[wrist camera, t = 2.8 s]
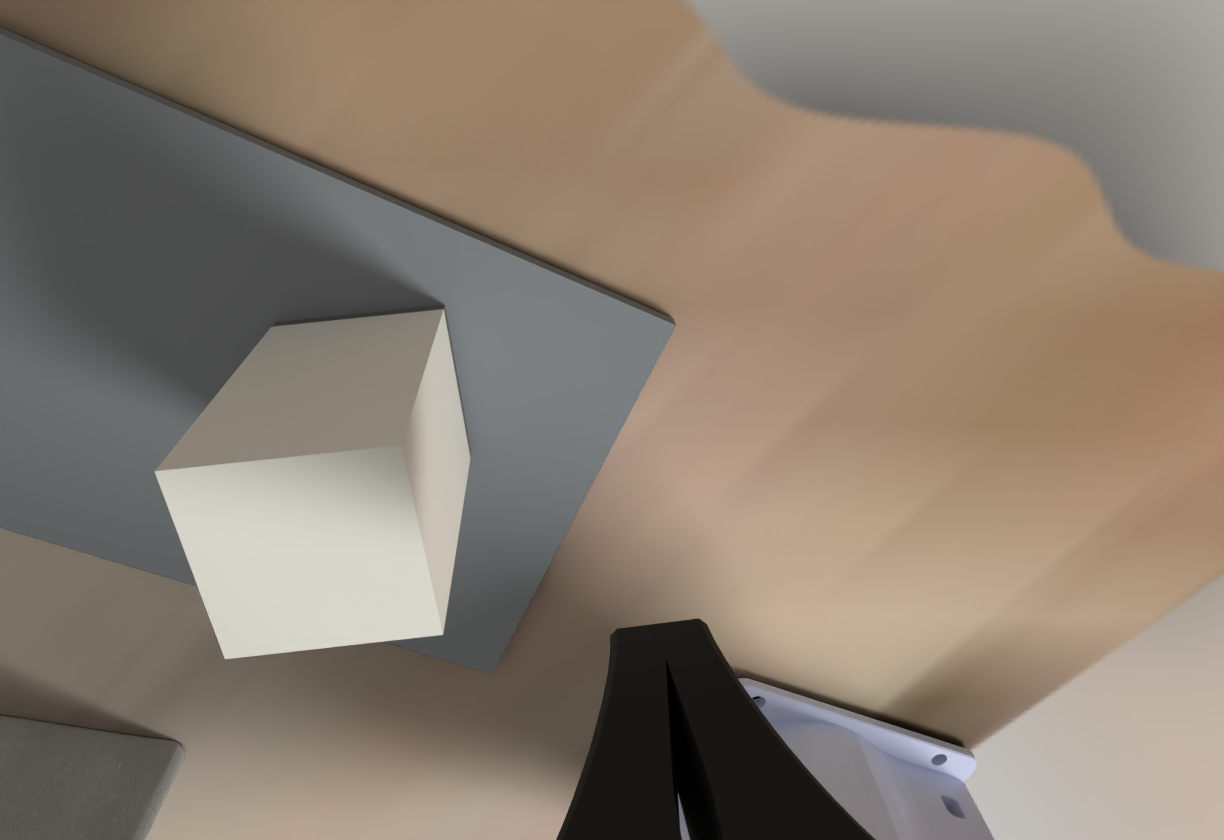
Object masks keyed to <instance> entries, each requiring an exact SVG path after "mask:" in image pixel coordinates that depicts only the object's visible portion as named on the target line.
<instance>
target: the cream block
mask: <svg viewBox="0 0 1224 840" xmlns="http://www.w3.org/2000/svg"><path fill="white" fill-rule="evenodd" d="M470 458H471V447H470V442H469V436H468V430H467V425H466V419H465V414H464V408H463V403H462V397H461V391H460V386H459V380H458V375H457V369H456V363H455V358H454V352H453V347H452V341H451V335H450V330H449V324H448V319H447V313H446V308H445V305H440V306H430V307H420V308H411V309H401V310H391V311H381V312H371V313H361V314H352V315H342V316H332V317H322V318H312V319H302V320H292V321H283V322H275V323H274V324H273V325H272V327H271V328H270V329H269V330H268V332H267V333H266V334H265V335H264V337H263V338H262V339H261V340H260V341H259V343H258V344H257V345H256V346H255V348H254V349H253V350H252V351H251V353H250V354H249V355H248V356H247V358H246V359H245V360H244V361H243V362H242V364H241V365H240V366H239V367H238V369H237V370H236V371H235V372H234V374H233V375H232V376H231V377H230V379H229V380H228V381H227V382H226V384H225V385H224V386H223V387H222V388H221V390H220V391H219V392H218V393H217V395H216V396H215V397H214V398H213V400H212V401H211V402H210V403H209V405H208V406H207V407H206V408H205V409H204V411H203V412H202V413H201V414H200V416H199V417H198V418H197V419H196V421H195V422H194V423H193V424H192V426H191V427H190V428H189V429H188V431H187V432H186V433H185V434H184V435H183V437H182V438H181V439H180V440H179V442H178V443H177V444H176V445H175V447H174V448H173V449H172V450H171V452H170V453H169V454H168V455H167V456H166V458H165V459H164V460H163V461H162V463H161V464H160V465H159V466H158V468H157V469H156V470H155V471H154V472H155V474H156V477H157V479H158V482H159V485H160V487H161V490H162V493H163V495H164V498H165V501H166V503H167V506H168V509H169V511H170V514H171V517H172V519H173V522H174V525H175V527H176V530H177V533H178V535H179V538H180V541H181V543H182V546H183V549H184V551H185V554H186V557H187V559H188V562H189V565H190V567H191V570H192V573H193V575H194V578H195V581H196V583H197V586H198V589H199V591H200V594H201V597H202V599H203V602H204V605H205V607H206V610H207V613H208V615H209V618H210V621H211V623H212V626H213V629H214V631H215V634H216V637H217V639H218V642H219V645H220V647H221V650H222V653H223V655H224V658H225V659H232V658H241V657H250V656H259V655H267V654H276V653H285V652H294V651H303V650H312V649H321V648H330V647H339V646H348V645H357V644H366V643H375V642H383V641H392V640H401V639H410V638H419V637H428V636H437V635H443V632H444V626H445V619H446V613H447V606H448V600H449V594H450V587H451V581H452V574H453V568H454V561H455V555H456V549H457V542H458V536H459V529H460V523H461V516H462V510H463V503H464V497H465V491H466V484H467V478H468V471H469V465H470Z"/></svg>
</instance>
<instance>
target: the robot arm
mask: <svg viewBox="0 0 1224 840" xmlns="http://www.w3.org/2000/svg"><path fill="white" fill-rule="evenodd" d="M610 645H611V648H610V660H609V669H608V675H607V681H606V686H605V691H604V696H603V701H602V705H601V709H600V713H599V716H598V720H597V724H596V728H595V732H594V736H593V740H592V743H591V746H590V750H589V753H588V756H587V759H586V762H585V765H584V768H583V771H582V773H581V776H580V779H579V782H578V785H577V788H576V791H575V794H574V797H573V800H572V802H571V805H570V807H569V810H568V813H567V815H566V818H565V820H564V823H563V825H562V827H561V830H560V832H559V835H558V837H557V839H556V840H994V838H993V836H992V834H991V832H990V830H989V828H988V827H987V825H986V823H985V821H984V819H983V817H982V815H981V813H980V812H979V810H978V808H977V806H976V804H975V802H974V800H973V798H972V797H971V795H970V793H969V791H968V789H967V787H966V785H965V783H964V782H965V780H967V778H968V777H969V776H970V775H971V774H972V772H974V770H975V768H976V767H977V760H976V759H975V757H974V755H973V753H972V752H971V751H970V750H968V749H966V748H963V747H959V746H956V745H953V744H950V743H947V742H944V741H941V740H938V739H935V738H931V737H928V736H925V735H922V734H919V733H916V732H913V731H910V730H907V729H904V728H900V727H897V726H894V725H891V724H888V723H885V722H882V721H879V720H876V719H872V718H869V717H866V716H863V715H860V714H857V713H854V712H851V711H848V710H845V709H841V708H838V707H835V706H832V705H829V704H826V703H823V702H820V701H817V700H813V699H810V698H807V697H804V696H801V695H798V694H795V693H792V692H789V691H786V690H782V689H779V688H776V687H773V686H770V685H767V684H764V683H761V682H758V681H754V680H751V679H747V678H739V679H738V678H737V676H736V675H735V673H734V672H733V670H732V669H731V667H730V666H729V664H728V662H727V661H726V659H725V657H724V656H723V654H722V652H721V651H720V649H719V647H718V645H717V644H716V642H715V640H714V638H713V636H712V634H711V632H710V630H709V628H708V626H707V624H706V623H704V622H703V621H702V620H700V619H692V620H684V621H676V622H668V623H660V624H652V625H644V626H636V627H628V628H620V629H617V630H616V631H615V632H614V633H613V634H612V635H611V636H610ZM756 696H761V697H760V698H758V699H755V700H754V699H752V698H753V697H756Z"/></svg>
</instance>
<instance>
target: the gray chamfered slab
mask: <svg viewBox="0 0 1224 840" xmlns="http://www.w3.org/2000/svg"><path fill="white" fill-rule="evenodd" d="M184 756H185V749H184V747H183V746H182V745H181V744H179V743H178V742H176V741H173V740H166V739H158V738H150V737H142V736H135V735H129V734H122V733H116V732H109V731H102V730H96V729H89V728H83V727H76V726H70V725H63V724H57V723H50V722H43V721H37V720H30V719H24V718H17V717H11V716H4V715H0V840H145V839H146V837H147V835H148V833H149V831H150V829H151V827H152V824H153V822H154V820H155V818H156V816H157V814H158V812H159V810H160V807H161V805H162V803H163V801H164V799H165V797H166V795H167V793H168V790H169V788H170V786H171V784H172V782H173V780H174V778H175V775H176V773H177V771H178V769H179V767H180V765H181V763H182V761H183V758H184Z"/></svg>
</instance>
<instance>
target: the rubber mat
mask: <svg viewBox="0 0 1224 840" xmlns="http://www.w3.org/2000/svg"><path fill="white" fill-rule="evenodd" d="M440 305H445V308H446V313H447V319H448V324H449V330H450V335H451V341H452V347H453V352H454V358H455V363H456V369H457V375H458V380H459V386H460V391H461V397H462V403H463V408H464V414H465V419H466V425H467V430H468V436H469V442H470V447H471V458H470V465H469V471H468V478H467V484H466V491H465V497H464V503H463V510H462V516H461V523H460V529H459V536H458V542H457V549H456V555H455V561H454V568H453V574H452V581H451V587H450V594H449V600H448V606H447V613H446V619H445V626H444V632H443V635H437V636H428V637H419V638H410V639H401V640H392V641H383V642H386V643H389V644H392V645H396V646H399V647H402V648H406V649H409V650H412V651H416V652H419V653H422V654H426V655H429V656H433V657H436V658H439V659H443V660H446V661H449V662H453V663H456V664H459V665H463V666H466V667H470V668H473V669H476V670H480V671H483V672H486V673H490V674H493V672H494V670H495V668H496V666H497V664H498V662H499V660H500V658H501V656H502V655H503V653H504V651H505V649H506V647H507V645H508V643H509V641H510V639H511V637H512V636H513V634H514V632H515V630H516V628H517V626H518V624H519V622H520V620H521V618H522V617H523V615H524V613H525V611H526V609H527V607H528V605H529V603H530V601H531V599H532V598H533V596H534V594H535V592H536V590H537V588H538V586H539V584H540V582H541V580H542V579H543V577H544V575H545V573H546V571H547V569H548V567H549V565H550V563H551V561H552V560H553V558H554V556H555V554H556V552H557V550H558V548H559V546H560V544H561V542H562V541H563V539H564V537H565V535H566V533H567V531H568V529H569V527H570V525H571V523H572V522H573V520H574V518H575V516H576V514H577V512H578V510H579V508H580V506H581V504H582V503H583V501H584V499H585V497H586V495H587V493H588V491H589V489H590V487H591V485H592V484H593V482H594V480H595V478H596V476H597V474H598V472H599V470H600V468H601V466H602V465H603V463H604V461H605V459H606V457H607V455H608V453H609V451H610V449H611V447H612V446H613V444H614V442H615V440H616V438H617V436H618V434H619V432H620V430H621V428H622V427H623V425H624V423H625V421H626V419H627V417H628V415H629V413H630V411H631V409H632V408H633V406H634V404H635V402H636V400H637V398H638V396H639V394H640V392H641V390H642V389H643V387H644V385H645V383H646V381H647V379H648V377H649V375H650V373H651V371H652V370H653V368H654V366H655V364H656V362H657V360H658V358H659V356H660V354H661V352H662V351H663V349H664V347H665V345H666V343H667V341H668V339H669V337H670V335H671V333H672V332H673V330H674V328H675V326H676V324H675V322H674V319H673V318H671V317H669V316H667V315H664V314H662V313H660V312H657V311H655V310H653V309H651V308H648V307H646V306H644V305H641V304H639V303H637V302H634V301H632V300H630V299H627V298H625V297H623V296H621V295H618V294H616V293H614V292H611V291H609V290H607V289H604V288H602V287H600V286H597V285H595V284H593V283H591V282H588V281H586V280H584V279H581V278H579V277H577V276H574V275H572V274H570V273H567V272H565V271H563V270H560V269H558V268H556V267H554V266H551V265H549V264H547V263H544V262H542V261H540V260H537V259H535V258H533V257H530V256H528V255H526V254H524V253H521V252H519V251H517V250H514V249H512V248H510V247H507V246H505V245H503V244H500V243H498V242H496V241H494V240H491V239H489V238H487V237H484V236H482V235H480V234H477V233H475V232H473V231H470V230H468V229H466V228H463V227H461V226H459V225H457V224H454V223H452V222H450V221H447V220H445V219H443V218H440V217H438V216H436V215H433V214H431V213H429V212H427V211H424V210H422V209H420V208H417V207H415V206H413V205H410V204H408V203H406V202H403V201H401V200H399V199H397V198H394V197H392V196H390V195H387V194H385V193H383V192H380V191H378V190H376V189H373V188H371V187H369V186H366V185H364V184H362V183H360V182H357V181H355V180H353V179H350V178H348V177H346V176H343V175H341V174H339V173H336V172H334V171H332V170H330V169H327V168H325V167H323V166H320V165H318V164H316V163H313V162H311V161H309V160H306V159H304V158H302V157H300V156H297V155H295V154H293V153H290V152H288V151H286V150H283V149H281V148H279V147H276V146H274V145H272V144H269V143H267V142H265V141H263V140H260V139H258V138H256V137H253V136H251V135H249V134H246V133H244V132H242V131H239V130H237V129H235V128H233V127H230V126H228V125H226V124H223V123H221V122H219V121H216V120H214V119H212V118H209V117H207V116H205V115H203V114H200V113H198V112H196V111H193V110H191V109H189V108H186V107H184V106H182V105H179V104H177V103H175V102H173V101H170V100H168V99H166V98H163V97H161V96H159V95H156V94H154V93H152V92H149V91H147V90H145V89H142V88H140V87H138V86H136V85H133V84H131V83H129V82H126V81H124V80H122V79H119V78H117V77H115V76H112V75H110V74H108V73H106V72H103V71H101V70H99V69H96V68H94V67H92V66H89V65H87V64H85V63H82V62H80V61H78V60H76V59H73V58H71V57H69V56H66V55H64V54H62V53H59V52H57V51H55V50H52V49H50V48H48V47H45V46H43V45H41V44H39V43H36V42H34V41H32V40H29V39H27V38H25V37H22V36H20V35H18V34H15V33H13V32H11V31H9V30H6V29H4V28H2V27H0V528H3V529H6V530H9V531H13V532H16V533H19V534H23V535H26V536H29V537H33V538H36V539H40V540H43V541H46V542H50V543H53V544H56V545H60V546H63V547H66V548H70V549H73V550H76V551H80V552H83V553H87V554H90V555H93V556H97V557H100V558H103V559H107V560H110V561H113V562H117V563H120V564H124V565H127V566H130V567H134V568H137V569H140V570H144V571H147V572H150V573H154V574H157V575H160V576H164V577H167V578H171V579H174V580H177V581H181V582H184V583H187V584H191V585H194V586H197V583H196V581H195V578H194V575H193V573H192V570H191V567H190V565H189V562H188V559H187V557H186V554H185V551H184V549H183V546H182V543H181V541H180V538H179V535H178V533H177V530H176V527H175V525H174V522H173V519H172V517H171V514H170V511H169V509H168V506H167V503H166V501H165V498H164V495H163V493H162V490H161V487H160V485H159V482H158V479H157V477H156V474H155V472H154V471H155V470H156V469H157V468H158V466H159V465H160V464H161V463H162V461H163V460H164V459H165V458H166V456H167V455H168V454H169V453H170V452H171V450H172V449H173V448H174V447H175V445H176V444H177V443H178V442H179V440H180V439H181V438H182V437H183V435H184V434H185V433H186V432H187V431H188V429H189V428H190V427H191V426H192V424H193V423H194V422H195V421H196V419H197V418H198V417H199V416H200V414H201V413H202V412H203V411H204V409H205V408H206V407H207V406H208V405H209V403H210V402H211V401H212V400H213V398H214V397H215V396H216V395H217V393H218V392H219V391H220V390H221V388H222V387H223V386H224V385H225V384H226V382H227V381H228V380H229V379H230V377H231V376H232V375H233V374H234V372H235V371H236V370H237V369H238V367H239V366H240V365H241V364H242V362H243V361H244V360H245V359H246V358H247V356H248V355H249V354H250V353H251V351H252V350H253V349H254V348H255V346H256V345H257V344H258V343H259V341H260V340H261V339H262V338H263V337H264V335H265V334H266V333H267V332H268V330H269V329H270V328H271V327H272V325H273V324H274V323H275V322H283V321H292V320H302V319H312V318H322V317H332V316H342V315H352V314H361V313H371V312H381V311H391V310H401V309H411V308H420V307H430V306H440ZM197 587H198V586H197Z"/></svg>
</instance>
